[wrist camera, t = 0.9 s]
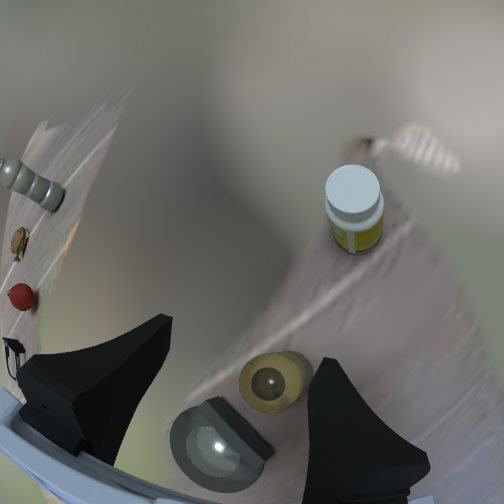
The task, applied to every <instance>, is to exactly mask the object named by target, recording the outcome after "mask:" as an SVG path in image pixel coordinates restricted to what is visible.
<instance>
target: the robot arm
mask: <svg viewBox="0 0 504 504" xmlns="http://www.w3.org/2000/svg"><path fill="white" fill-rule="evenodd" d="M172 319H173V317H170V316H167V315H164V314H159V315H157V316H155V317H153V318H152V319H150V320H149V321H147V322H145V323H143V324H142V325H140V326H138V327H136V328H134V329H133V330H131V331H129V332H127V333H125V334H123V335H121V336H119V337H117V338H114V339H112V340H110V341H107V342H105V343H102V344H99V345H96V346H93V347H89V348H85V349H81V350H77V351H72V352H65V353H58V354H34V355H33V356H32V357H31V358H30V359H29V360H28V361H27V362H26V363H25V364H24V365H23V366H22V367H21V368H20V369H19V370H18V371H17V372H16V378H17V381H18V384H19V386H20V388H21V390H22V392H23V394H24V396H25V398H26V400H27V402H26V403H25V405H24V406H23V404H22V403H21V402H20V401H19V400H18V399H17V398H16V397H14V396H13V395H12V394H11V393H10V392H9V391H7V390H6V389H5V388H4V387H2V388H1V389H0V451H1V452H2V454H4V455H5V456H6V457H7V458H8V459H9V460H10V461H11V462H13V463H14V464H15V465H16V466H17V467H18V468H19V469H21V470H22V471H23V472H24V473H26V474H27V475H28V476H29V477H31V478H32V479H33V480H34V481H35V482H37V483H38V484H39V485H41V486H42V487H43V488H45V489H46V490H47V491H49V492H50V493H52V494H53V495H55V496H56V497H58V498H59V499H61V500H62V501H64V502H65V503H67V504H221V503H217V502H212V501H208V500H204V499H200V498H196V497H193V496H189V495H185V494H182V493H179V492H176V491H173V490H169V489H166V488H164V487H161V486H158V485H155V484H152V483H150V482H147V481H145V480H142V479H140V478H137V477H135V476H132V475H130V474H128V473H125V472H123V471H121V470H119V469H117V468H115V467H113V466H114V463H115V460H116V457H117V454H118V451H119V449H120V445H121V443H122V440H123V438H124V436H125V433H126V431H127V429H128V426H129V424H130V421H131V419H132V417H133V415H134V413H135V411H136V408H137V406H138V404H139V402H140V401H141V399H142V397H143V396H144V394H145V393H146V391H147V389H148V388H149V386H150V385H151V383H152V381H153V380H154V378H155V377H156V375H157V373H158V372H159V370H160V369H161V367H162V365H163V363H164V361H165V359H166V357H167V354H168V352H169V350H170V339H171V329H172ZM307 405H308V423H309V440H310V450H309V462H308V471H307V478H306V485H305V490H304V496H303V501H302V504H434V500H433V495H427V496H423V497H419V498H415V499H412V500H409V501H407V496H408V495H410V487H411V486H413V485H414V484H416V483H417V482H418V481H420V480H421V479H422V478H424V477H425V476H426V475H427V474H428V472H429V471H430V468H431V467H430V463H429V460H428V457H427V454H426V452H424V451H422V450H421V449H419V448H417V447H415V446H414V445H412V444H410V443H409V442H407V441H406V440H405V439H403V438H402V437H400V436H399V435H398V434H396V433H395V432H394V431H393V430H392V429H390V428H389V427H388V426H387V425H386V424H385V423H384V422H383V421H382V420H381V419H380V418H379V417H378V416H377V415H376V414H375V413H374V412H373V411H372V410H371V408H370V407H369V406H368V405H367V404H366V402H365V401H364V400H363V398H362V397H361V396H360V394H359V393H358V392H357V390H356V389H355V387H354V386H353V384H352V383H351V381H350V380H349V378H348V377H347V375H346V374H345V372H344V371H343V369H342V367H341V366H340V364H339V363H338V361H337V360H336V359H332V358H327V357H324V358H323V360H322V362H321V364H320V366H319V368H318V370H317V372H316V374H315V375H314V377H313V379H312V381H311V383H310V385H309V389H308V403H307Z"/></svg>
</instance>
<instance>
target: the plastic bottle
mask: <svg viewBox="0 0 504 504" xmlns="http://www.w3.org/2000/svg"><path fill="white" fill-rule="evenodd" d="M0 180H1V182H2V184H3V186H4V187H5V188H7V189H10V190H12V191H15V192H18V193H20V194H22V195H25V196H27V197H29V198H30V199H32V200H33V201H35V202H36V203H37V204H39V205H40V206H41V207H42V208H43V209H45V210H48V211H53V210H55V209H56V208H57V207H58V205H59V203H60V201H61V199H62V196H63V189H62V187H61V186H60V185H59V184H58V183H56V182H54V181H49V180H48V179H45V178H43V177H41V176H39V175H38V174H36V173H35V172H33V171H32V170H31V169H29V168H28V167H27V166H26V165H25V164H24V163H22V162H21V161H20V160H18V159H12V160H8V161H5V158H2V157H0Z"/></svg>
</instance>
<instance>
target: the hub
mask: <svg viewBox="0 0 504 504" xmlns="http://www.w3.org/2000/svg"><path fill="white" fill-rule="evenodd" d="M312 379H313V369H312V366H311V364H310V362H309V361H308V359H307V358H306V357H305V356H303V355H302V354H300V353H297V352H294V351H285V352H278V353H270V354H263V355H259V356H256V357H254V358H252V359H251V360H250V361H248V362H247V363H246V365H245V366H244V367H243V369H242V371H241V374H240V378H239V387H240V391H241V394H242V396H243V398H244V400H245V401H246V402H247V403H248V404H249V405H250V406H251V407H252V408H254V409H256V410H258V411H260V412H264V413H276V412H280V411H282V410H284V409H286V408H288V407H289V406H290V405H291V404H292V403H294V402H295V401H296V400H297V399H298V398H299V397H300V396H302V395H303V394H304V393H305V392H306V391H307V390H308V389H309V385H310V383H311V381H312Z"/></svg>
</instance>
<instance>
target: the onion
mask: <svg viewBox="0 0 504 504" xmlns="http://www.w3.org/2000/svg"><path fill="white" fill-rule="evenodd" d="M7 295H8V296H9V298H10V301H11V303H12V305H13V306H14V307H15V308H16V309H18V310H20V311H27V310H29V309H30V308H31V307H32V306H33V305H34V304H35V303H36V301H37V300H36V297H35V295H34V293H33V291H32V289H31V288H30V286H28V285H26V284H23V283H19V284H17V285H15V286H13V287H12V288H11V290H9V291H8V290H7Z"/></svg>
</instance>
